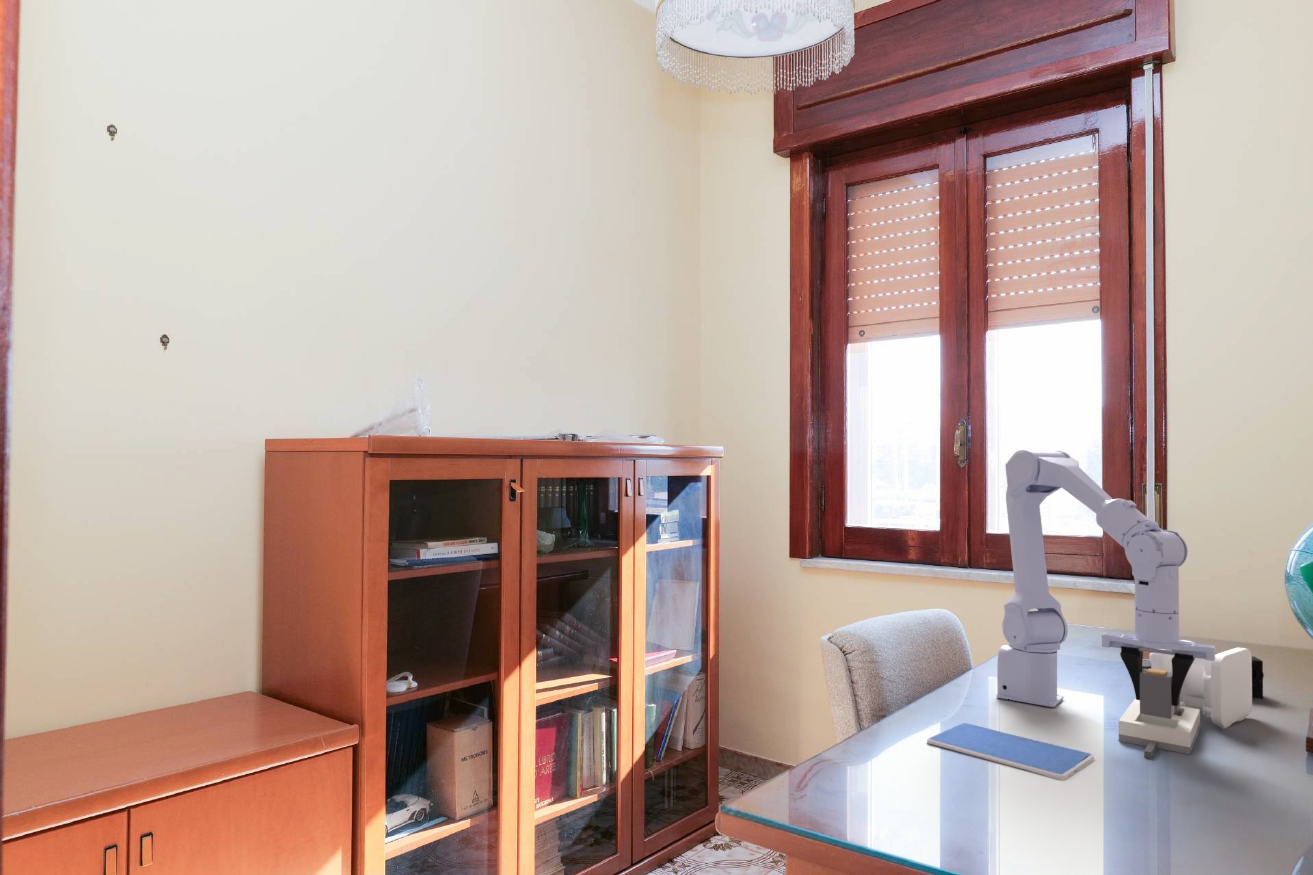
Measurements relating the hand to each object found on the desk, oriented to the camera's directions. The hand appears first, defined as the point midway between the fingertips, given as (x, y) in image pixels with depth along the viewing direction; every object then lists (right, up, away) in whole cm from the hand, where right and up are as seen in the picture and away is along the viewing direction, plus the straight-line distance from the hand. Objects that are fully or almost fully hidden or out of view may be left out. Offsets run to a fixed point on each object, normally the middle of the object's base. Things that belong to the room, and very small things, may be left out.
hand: (1157, 701), depth 124 cm
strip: (0, -6, +1) cm, 6 cm away
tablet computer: (-25, -6, -6) cm, 27 cm away
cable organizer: (+15, -7, +13) cm, 21 cm away
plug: (0, -2, 0) cm, 2 cm away
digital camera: (+30, -8, +29) cm, 42 cm away
